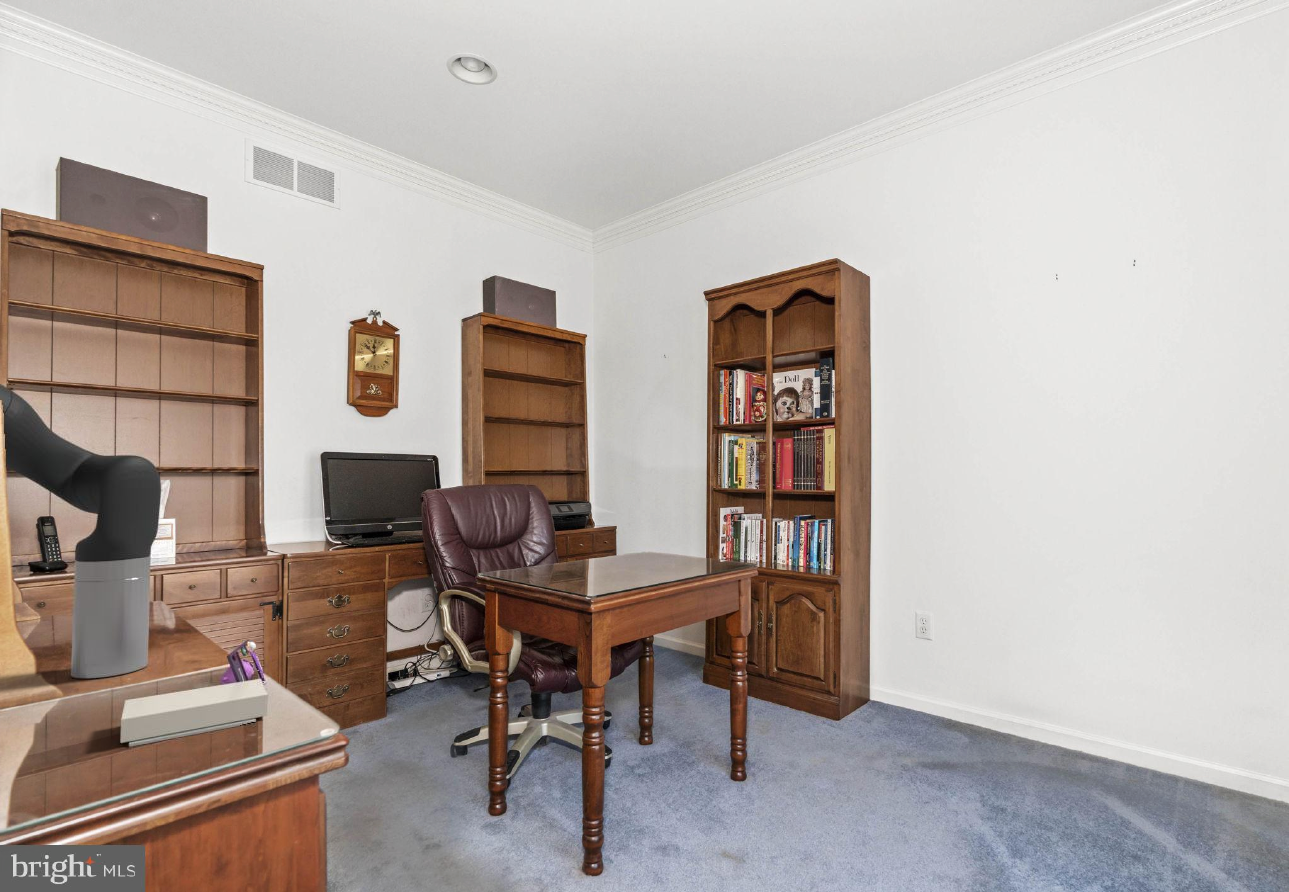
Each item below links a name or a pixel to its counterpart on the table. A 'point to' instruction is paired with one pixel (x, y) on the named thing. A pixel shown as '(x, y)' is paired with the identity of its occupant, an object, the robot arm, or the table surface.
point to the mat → (190, 732)
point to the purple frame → (241, 665)
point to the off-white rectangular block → (192, 709)
